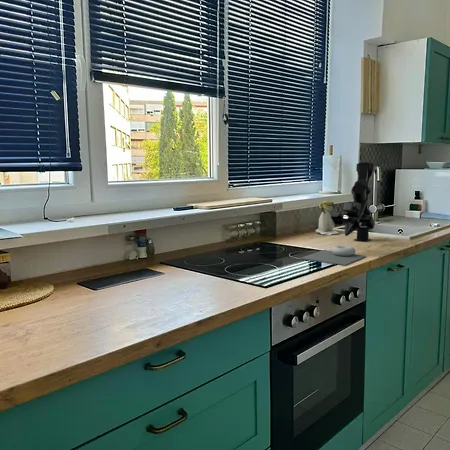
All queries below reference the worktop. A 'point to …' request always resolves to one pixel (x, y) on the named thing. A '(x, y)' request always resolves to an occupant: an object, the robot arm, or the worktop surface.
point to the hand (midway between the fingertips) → (345, 235)
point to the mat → (333, 258)
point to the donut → (343, 250)
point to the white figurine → (326, 218)
